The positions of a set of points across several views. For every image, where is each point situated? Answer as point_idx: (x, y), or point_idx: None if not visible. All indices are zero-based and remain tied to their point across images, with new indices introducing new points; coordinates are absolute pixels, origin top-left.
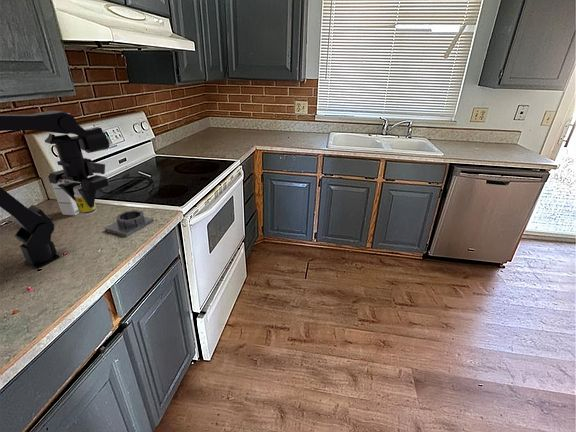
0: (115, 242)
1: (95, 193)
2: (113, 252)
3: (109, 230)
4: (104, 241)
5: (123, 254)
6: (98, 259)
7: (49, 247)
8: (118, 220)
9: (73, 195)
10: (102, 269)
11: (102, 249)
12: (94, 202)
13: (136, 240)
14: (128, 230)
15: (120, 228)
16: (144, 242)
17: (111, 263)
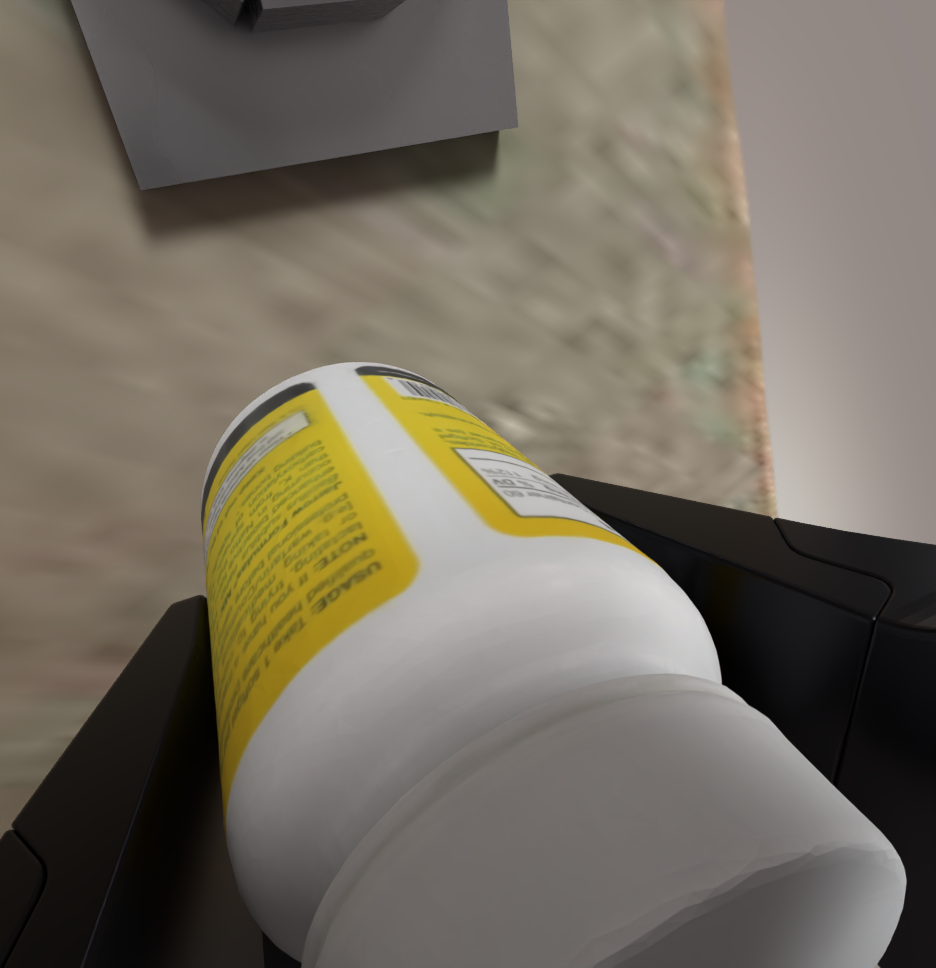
0: (504, 273)
1: (901, 544)
2: (622, 369)
3: (237, 173)
4: (401, 329)
5: (701, 336)
6: (607, 477)
7: None
8: (302, 6)
9: (242, 940)
10: (709, 498)
11: (516, 404)
12: (495, 434)
13: (636, 123)
14: (480, 49)
15: (343, 67)
16: (720, 105)
17: (709, 439)
